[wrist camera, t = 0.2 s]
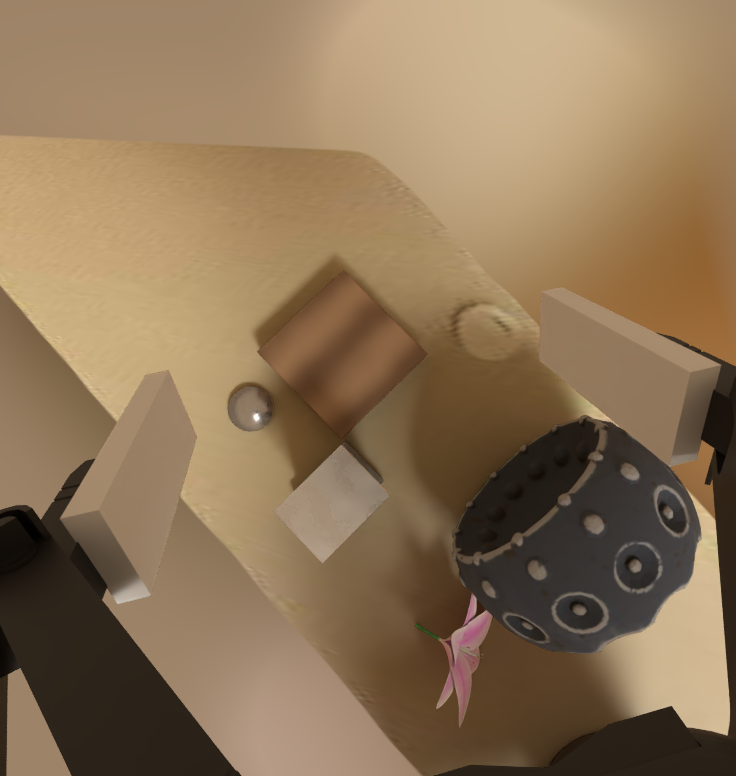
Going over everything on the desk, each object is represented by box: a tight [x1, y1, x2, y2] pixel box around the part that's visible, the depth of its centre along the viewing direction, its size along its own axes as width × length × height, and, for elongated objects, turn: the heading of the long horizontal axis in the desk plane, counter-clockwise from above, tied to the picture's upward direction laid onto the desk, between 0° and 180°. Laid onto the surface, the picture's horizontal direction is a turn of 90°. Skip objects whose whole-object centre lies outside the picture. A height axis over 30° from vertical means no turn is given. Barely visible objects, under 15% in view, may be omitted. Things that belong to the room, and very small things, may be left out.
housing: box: [273, 441, 390, 563], centre depth 44 cm, size 6×8×12 cm
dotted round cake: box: [452, 415, 702, 654], centre depth 40 cm, size 11×20×20 cm, turn 135°
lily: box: [415, 593, 492, 728], centre depth 45 cm, size 12×12×10 cm
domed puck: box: [228, 386, 274, 431], centre depth 50 cm, size 5×5×1 cm
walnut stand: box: [257, 270, 427, 438], centre depth 50 cm, size 13×13×3 cm
